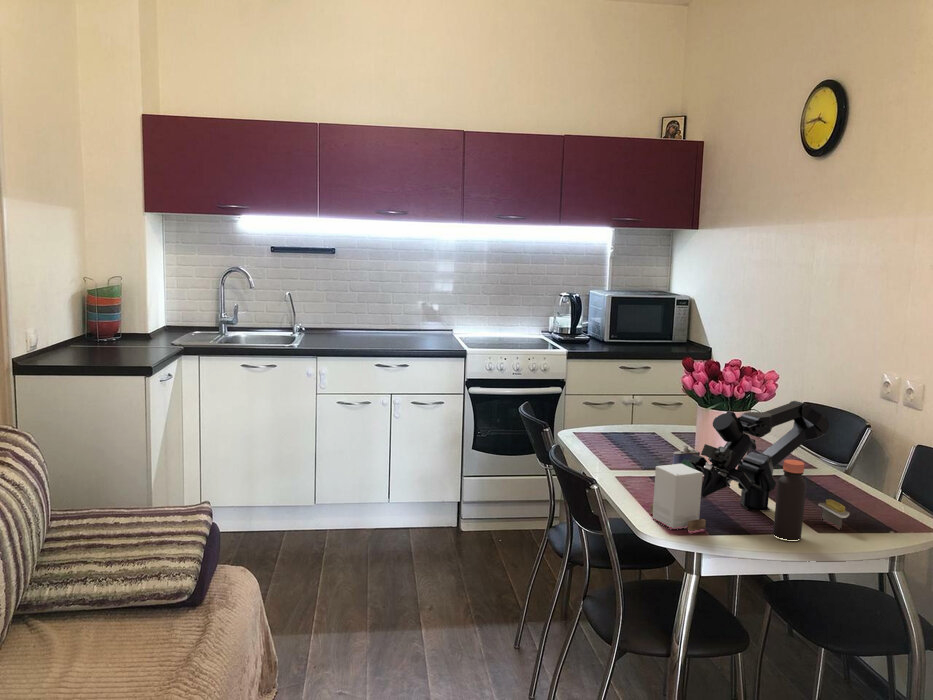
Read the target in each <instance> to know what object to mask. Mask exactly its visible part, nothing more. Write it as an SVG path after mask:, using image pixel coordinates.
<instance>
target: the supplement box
mask: <svg viewBox="0 0 933 700" xmlns="http://www.w3.org/2000/svg"><path fill="white" fill-rule="evenodd" d="M654 471H655V475H654V486H653V487H654V488H653V489H654V490H653V503H652V504H653V516H652V515H651V516H652V517H653V518H654V519H656V520H658V521H660V522H662V523H664V524H666V525H667V526H669V527H672V528H676V527H686V526H688V521H693V520H698V519H700V512H701V500H702V499H701V489H702V484H703V477H704V474H703V473H702V472H700V471H697V470H695V469H693V468H690V467H688V466H686V465H684V464H673V463H672V464H664V465H656V466H655V470H654Z"/></svg>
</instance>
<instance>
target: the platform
mask: <svg viewBox="0 0 933 700" xmlns="http://www.w3.org/2000/svg"><path fill="white" fill-rule="evenodd" d="M817 504H818V505H817V506H819V507H821V508H822V513H821V519H822V518H823V519H825V520H827V521H829V522H832V523H833V524H835V525H837V526H839V527H840V528H841V529H842V524H843V519H846V518H848V517H849V516H850V512H849V511H847V510H846V505H845V506H844V505H843V504H841V503H840V502H838V501H835V500H833V499H825V502H818V503H817Z"/></svg>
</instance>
